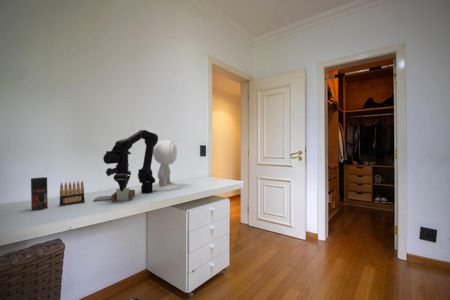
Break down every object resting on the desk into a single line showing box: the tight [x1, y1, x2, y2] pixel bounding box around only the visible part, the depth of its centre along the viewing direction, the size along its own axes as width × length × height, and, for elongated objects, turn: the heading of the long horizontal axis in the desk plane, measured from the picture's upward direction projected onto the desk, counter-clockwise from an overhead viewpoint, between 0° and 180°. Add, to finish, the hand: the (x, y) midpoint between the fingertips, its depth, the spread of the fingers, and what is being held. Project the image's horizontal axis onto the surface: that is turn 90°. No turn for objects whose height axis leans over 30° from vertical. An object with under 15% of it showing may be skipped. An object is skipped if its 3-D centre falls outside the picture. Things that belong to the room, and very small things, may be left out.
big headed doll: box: [152, 139, 181, 192], centre depth 154 cm, size 20×23×35 cm
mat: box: [92, 195, 112, 202], centre depth 122 cm, size 9×9×1 cm
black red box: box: [30, 176, 49, 211], centre depth 103 cm, size 6×6×15 cm
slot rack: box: [110, 189, 136, 203], centre depth 123 cm, size 10×14×4 cm
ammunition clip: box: [59, 180, 86, 207], centre depth 111 cm, size 11×2×12 cm, turn 132°
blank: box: [116, 187, 130, 202], centre depth 121 cm, size 6×4×6 cm, turn 106°
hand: (123, 189), depth 121 cm, fingers open, 9 cm apart
